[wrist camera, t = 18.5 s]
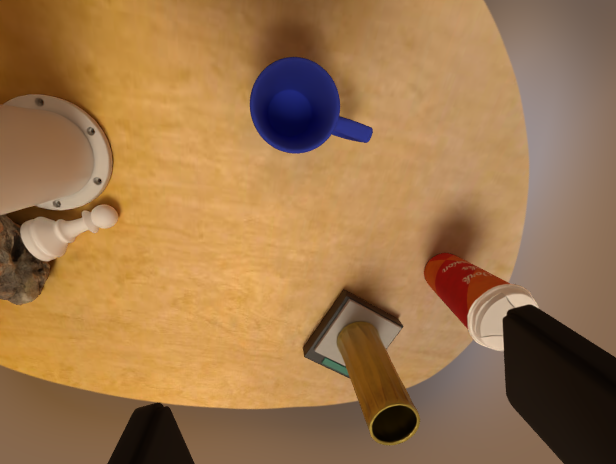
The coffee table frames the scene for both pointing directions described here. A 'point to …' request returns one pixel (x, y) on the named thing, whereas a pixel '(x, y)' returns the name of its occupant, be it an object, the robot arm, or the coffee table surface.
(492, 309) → the paper cup
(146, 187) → the coffee table surface
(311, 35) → the coffee table surface
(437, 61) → the coffee table surface
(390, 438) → the vase
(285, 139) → the mug
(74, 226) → the chess pawn
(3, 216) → the rock
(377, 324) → the scale
